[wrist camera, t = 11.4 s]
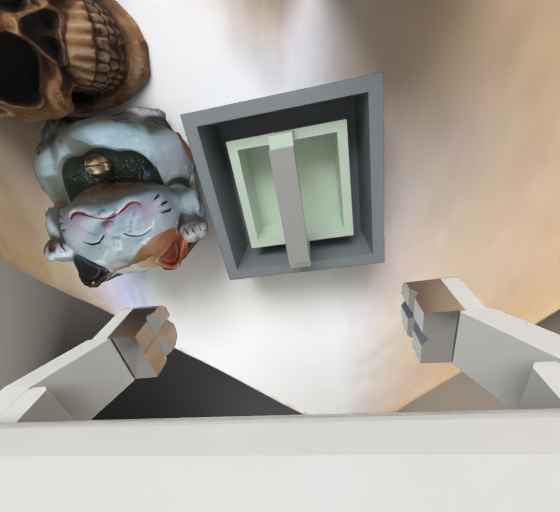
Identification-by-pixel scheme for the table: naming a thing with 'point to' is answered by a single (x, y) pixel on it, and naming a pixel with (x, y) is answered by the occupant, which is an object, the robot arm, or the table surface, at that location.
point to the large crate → (282, 115)
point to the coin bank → (67, 57)
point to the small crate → (294, 186)
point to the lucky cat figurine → (118, 194)
